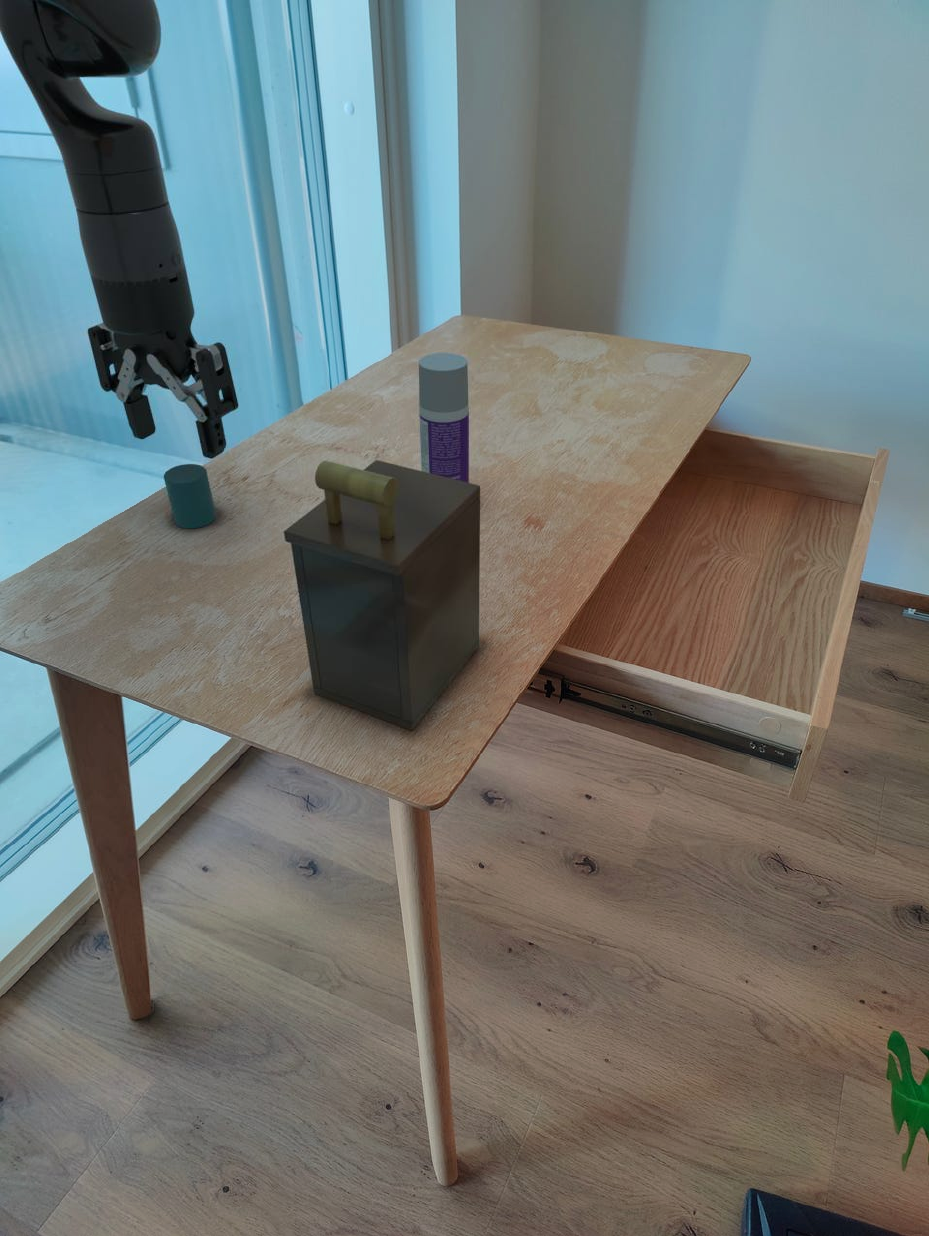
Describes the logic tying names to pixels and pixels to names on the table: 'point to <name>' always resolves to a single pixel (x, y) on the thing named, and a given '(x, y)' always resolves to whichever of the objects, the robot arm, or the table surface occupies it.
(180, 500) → the teal cylinder
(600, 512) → the table surface
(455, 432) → the container
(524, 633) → the table surface
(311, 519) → the lid
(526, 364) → the table surface
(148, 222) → the robot arm
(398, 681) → the chest
